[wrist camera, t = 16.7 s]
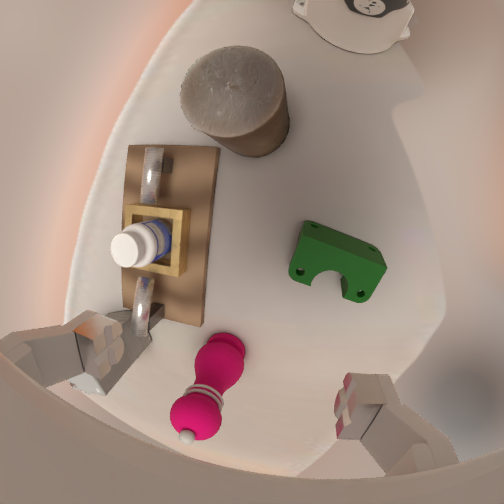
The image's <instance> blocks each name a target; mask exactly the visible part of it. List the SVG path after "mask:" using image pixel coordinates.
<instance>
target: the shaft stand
mask: <svg viewBox="0 0 504 504" xmlns="http://www.w3.org/2000/svg"><path fill="white" fill-rule="evenodd" d="M219 152H220V148H218V147H209V146H187V145H129V147H128V155H127V163H126V172H125V182H124V195H123V211H122V231H123V229H124V228H126V227H127V226H129V225H131V224H135V223H140V222H144V221H148V220H152V219H164V220H167V221H168V222H170V223H171V224H172V225H173V231H172V247H171V252H170V253H169V254H167V255H165V256H163V257H162V258H160V259H158V260H156V261H154V262H152V263H150V264H148V265H146V266H144V267H133V266H131V267H122V266H121V267H122V295H123V307H125V308H128V309H131V310H133V312H132V321H131V330H130V334H132V335H134V336H139V337H146V336H147V330H149V331H150V330H151V329H152V328H153V327H154V326H155V325H156V324H157V323H158V322H159V321H160V320H161V319H162V318H164V319H168V320H172V321H176V322H180V323H184V324H188V325H193V326H197V327H201V326H202V324H203V321H204V305H205V290H206V277H207V264H208V252H209V241H210V231H211V221H212V211H213V202H214V193H215V184H216V176H217V168H218V160H219Z"/></svg>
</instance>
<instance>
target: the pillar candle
mask: <svg viewBox="0 0 504 504" xmlns="http://www.w3.org/2000/svg"><path fill="white" fill-rule="evenodd" d="M181 88H182V89H181V92H180V99H181V108H182V110H183V112H184V114H185V117H186V118H187V120H188V121H189V122H190V123H191V126H192V127H193V128H194V129H196V130H197V131H202V132H203V133H205V134H207V135H208V136H210V137H212V138H213V139H215V140H216V141H218V143H220V144H222V145H223V146H225V147H227V148H228V149H230V150H232V151H233V152H235V153H237V154H240V155H243V156H248V157H261V156H265V155H267V154H269V153H271V152H273V151H275V150H276V149H277V148H278V147H280V145H281V144H282V143H283V142H284V140H285V139H286V136H287V134H288V132H289V126H290V119H289V114H288V107H287V100H286V91H285V83H284V78H283V75H282V73H281V70H280V68H279V67H278V65H277V64H276V62H275V61H274V60H273V59H272V58H271V57H270V56H268V55H267V54H266V53H264V52H262V51H260V50H258V49H255V48H252V47H246V46H230V47H224V48H221V49H217V50H215V51H212V52H210V53H209V54H207V55H205V56H203V57H202V58H199V59H198V60H197V61H196V62H195V64H193V65H192V66H191V67H190V68H189V70H188V73H186V77H185V79H184V81H183V83H182V85H181Z"/></svg>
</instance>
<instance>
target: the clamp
mask: <svg viewBox="0 0 504 504" xmlns="http://www.w3.org/2000/svg"><path fill="white" fill-rule="evenodd" d="M298 268H302V269H304V270H298ZM386 269H387V266H386V263H385V261H384V259H383V256H382V254H381V252H380V251H379V250H378V249H377V248H376V247H374V246H372V245H370V244H368V243H365V242H363V241H360V240H358V239H355V238H353V237H351V236H348V235H346V234H343V233H340V232H338V231H335V230H333V229H330V228H328V227H325V226H322V225H320V224H317V223H315V222H311V221H305V222H304V224H303V227H302V229H301V232H300V234H299V238H298V244H297V247H296V250H295V252H294V255H293V257H292V260H291V262H290V266H289V276H290V277H291V278H292V279H293V280H295V281H297V282H300V283H303V284H306V285H308V286H311V282H312V280H313V278H314V277H315V276H316V275H317V274H319V273H321V272H323V271H328V270H333V271H337V272H339V273H341V274H343V277H342V278H341V287H342V297H343V298H345V299H348V300H351V301H353V302H356V303H363V302H365V301H367V300H368V299H369V298H370V297H371V295H372V293H373V292H374V290H375V288H376V287H377V285H378V283H379V282H380V280H381V278H382V276H383V275H384V273H385V271H386ZM360 290H362V291H360Z"/></svg>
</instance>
